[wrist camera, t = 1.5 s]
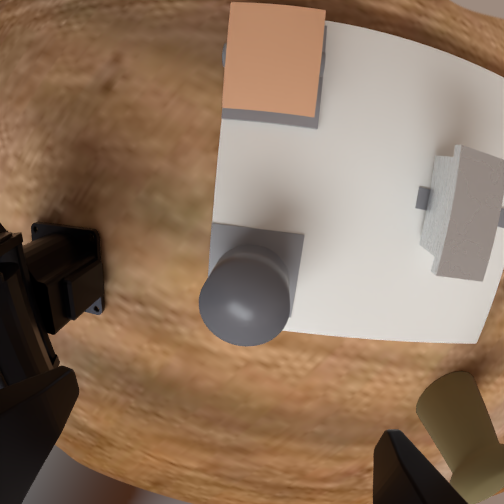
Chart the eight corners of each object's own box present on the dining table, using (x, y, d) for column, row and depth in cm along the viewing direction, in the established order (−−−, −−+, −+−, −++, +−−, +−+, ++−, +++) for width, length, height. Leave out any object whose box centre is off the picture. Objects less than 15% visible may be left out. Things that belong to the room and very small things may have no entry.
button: (210, 309, 18) (197, 338, 15) (215, 239, 16) (200, 258, 14) (283, 320, 17) (282, 351, 15) (294, 249, 16) (296, 271, 13)
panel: (212, 304, 21) (203, 324, 19) (240, 24, 16) (233, 8, 13) (464, 330, 20) (479, 347, 18) (511, 93, 15) (533, 89, 12)
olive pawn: (462, 359, 21) (522, 454, 11) (482, 392, 22) (530, 475, 11) (404, 402, 23) (440, 508, 12) (430, 429, 24) (463, 520, 13)
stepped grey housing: (409, 252, 16) (435, 275, 13) (428, 144, 15) (461, 144, 11) (452, 258, 16) (482, 281, 13) (471, 157, 14) (508, 161, 11)
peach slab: (224, 105, 14) (217, 107, 13) (232, 9, 12) (226, 2, 11) (316, 114, 14) (318, 118, 13) (326, 18, 12) (330, 11, 10)
